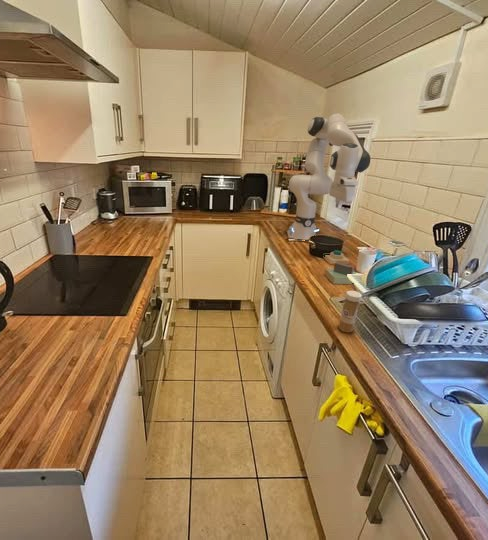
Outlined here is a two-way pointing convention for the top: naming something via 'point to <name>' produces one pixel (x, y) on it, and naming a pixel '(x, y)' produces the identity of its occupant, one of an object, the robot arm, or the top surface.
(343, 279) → the tap plate
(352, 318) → the sprinkles bottle
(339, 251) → the button
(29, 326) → the top surface
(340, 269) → the spout
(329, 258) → the switch block
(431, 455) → the top surface
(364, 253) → the white cup
